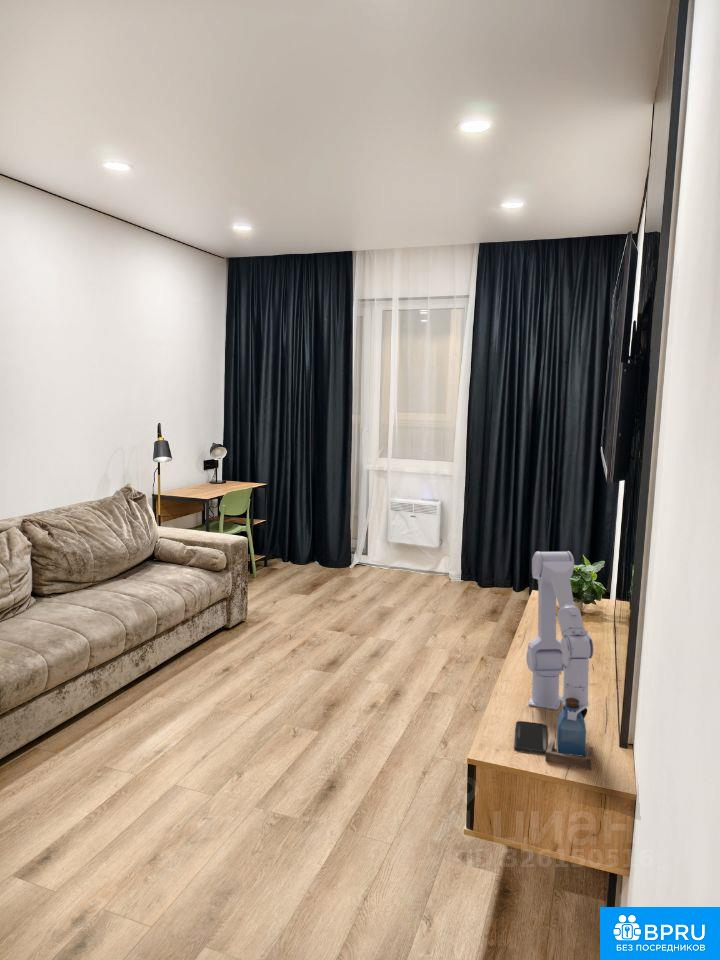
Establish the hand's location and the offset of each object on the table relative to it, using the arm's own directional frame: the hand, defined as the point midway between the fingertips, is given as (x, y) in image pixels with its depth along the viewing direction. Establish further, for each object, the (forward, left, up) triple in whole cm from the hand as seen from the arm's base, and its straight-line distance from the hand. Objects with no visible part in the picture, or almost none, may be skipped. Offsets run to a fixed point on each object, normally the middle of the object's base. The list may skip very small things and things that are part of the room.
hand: (574, 736), depth 161 cm
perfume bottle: (+4, 0, -1) cm, 4 cm away
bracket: (+9, 0, -1) cm, 9 cm away
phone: (+3, -10, -2) cm, 11 cm away
